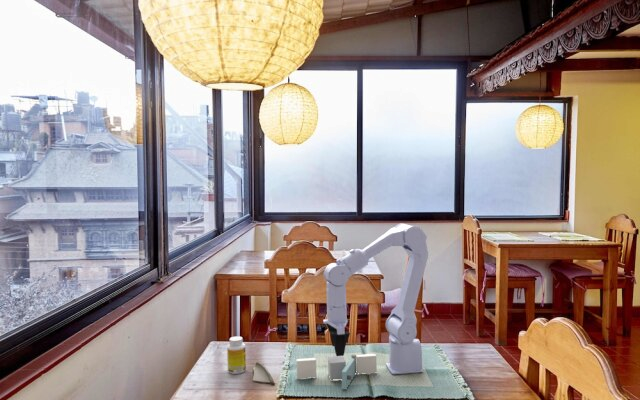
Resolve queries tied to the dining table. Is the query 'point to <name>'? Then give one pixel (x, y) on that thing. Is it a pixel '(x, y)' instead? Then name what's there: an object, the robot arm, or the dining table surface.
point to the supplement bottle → (236, 355)
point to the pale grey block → (336, 367)
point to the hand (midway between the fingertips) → (337, 350)
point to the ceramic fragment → (262, 374)
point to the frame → (362, 362)
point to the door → (348, 373)
